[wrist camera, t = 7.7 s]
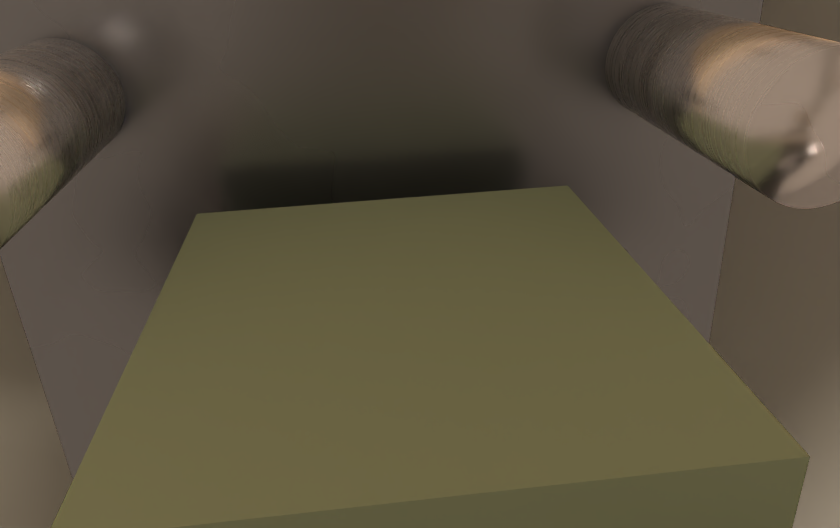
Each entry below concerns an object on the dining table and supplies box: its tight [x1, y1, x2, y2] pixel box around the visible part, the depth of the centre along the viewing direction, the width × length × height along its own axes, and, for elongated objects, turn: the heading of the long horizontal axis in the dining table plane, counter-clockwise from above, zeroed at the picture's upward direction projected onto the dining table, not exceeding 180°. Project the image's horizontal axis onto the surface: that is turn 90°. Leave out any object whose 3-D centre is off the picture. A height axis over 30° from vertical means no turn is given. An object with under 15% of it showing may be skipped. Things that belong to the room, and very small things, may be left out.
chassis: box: [0, 0, 840, 479], centre depth 10 cm, size 14×10×5 cm
